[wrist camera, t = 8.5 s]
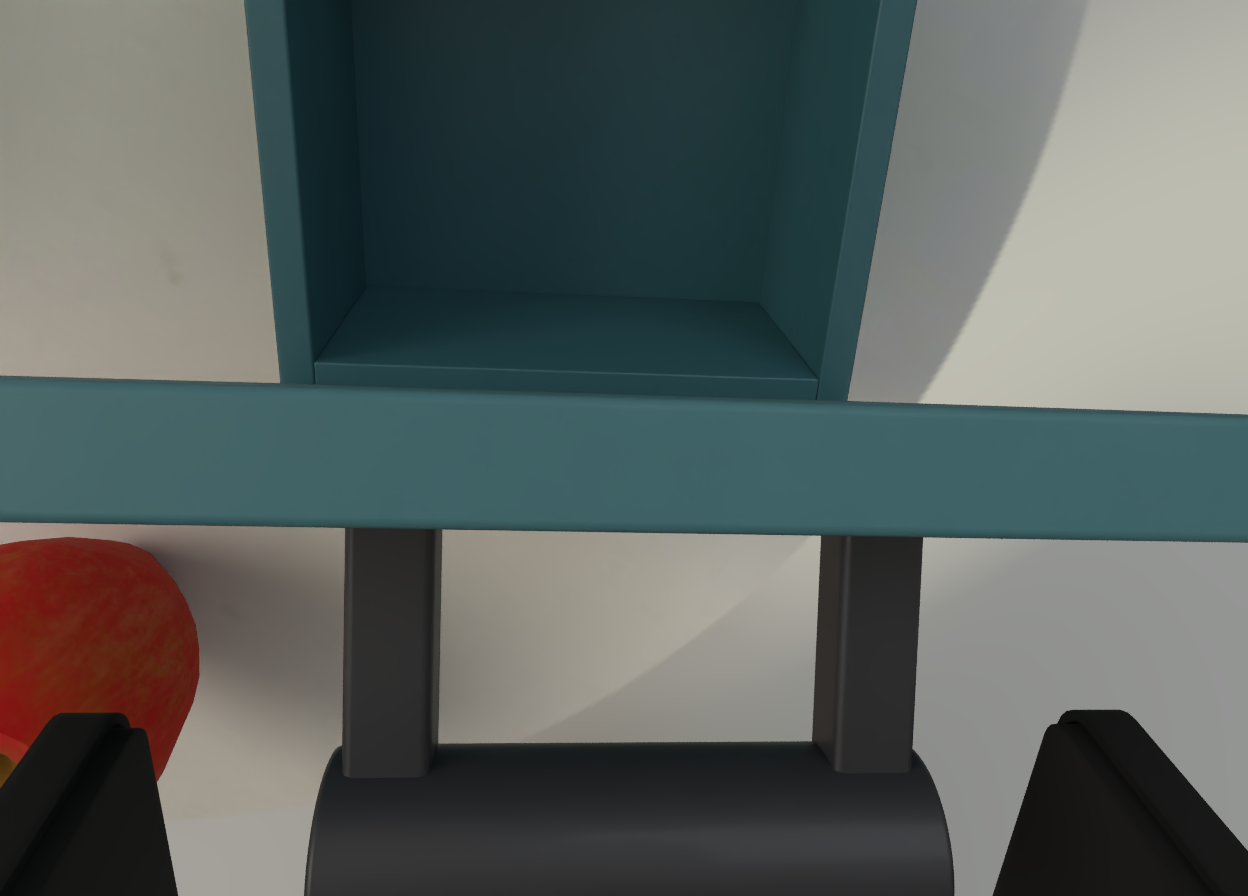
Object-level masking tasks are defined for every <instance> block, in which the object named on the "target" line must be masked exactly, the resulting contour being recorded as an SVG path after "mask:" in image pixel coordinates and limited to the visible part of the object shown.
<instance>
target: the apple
mask: <svg viewBox="0 0 1248 896" xmlns="http://www.w3.org/2000/svg"><path fill="white" fill-rule="evenodd" d="M198 679H199V645H198V638H197V631H196V625H195V622H194V620H193V617H192V615H191V612H190V610H189V607H188V604H187V602H186V600H185V598H184V596H183V595H182V593H181V591H180V589H179V588H178V586H177V584H176V583H175V581H174V580H173V579H172V578H171V576H170V575H169V574H168V573H167V571H166V570H165V569H164V568H163V567H162V566H161V565H160V564H159V563H158V562H157V560H156V559H155V558H154V557H153V556H152V555H151V554H150V553H149V552H146V551H144V550H142V549H140V548H138V547H135V546H133V545H131V544H128V543H122V542H117V541H111V540H100V539H88V538H75V537H65V538H52V539H40V540H28V541H20V542H13V543H8V544H2V545H0V788H1V787H2V785H3V784H4V783H5V781H6V780H7V778H8V777H9V776H10V774H11V773H12V771H13V770H14V769H15V767H16V766H17V764H18V763H19V762H20V760H21V759H22V757H23V756H24V755H25V753H26V752H27V750H28V749H29V748H30V746H31V745H32V743H33V742H34V741H35V739H36V738H37V736H38V735H39V733H40V732H41V731H42V729H43V728H44V726H45V725H46V724H47V723H48V722H49V720H50V719H51V718H52V717H53V716H55V715H57V714H59V713H110V712H118V713H123V714H125V716H126V717H127V718H128V720H129V723H130V726H131V728H143V729H144V730H145V731H146V733H147V736H148V740H149V745H150V750H151V756H152V761H153V766H154V771H155V777H156V782H157V781H158V780H159V778H160V776H161V775H162V773H163V771H164V769H165V767H166V764H167V762H168V760H169V757H170V755H171V753H172V750H173V748H174V746H175V743H176V741H177V739H178V736H179V734H180V732H181V729H182V727H183V725H184V722H185V720H186V718H187V716H188V713H189V711H190V709H191V706H192V704H193V701H194V697H195V692H196V688H197V684H198Z"/></svg>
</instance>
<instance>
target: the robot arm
mask: <svg viewBox="0 0 1248 896" xmlns="http://www.w3.org/2000/svg"><path fill="white" fill-rule="evenodd" d="M0 896H178V893H177V887H176V882H175V877H174V872H173V866H172V861H171V856H170V850H169V845H168V840H167V835H166V829H165V824H164V819H163V814H162V808H161V803H160V798H159V792H158V787H157V782H156V777H155V771H154V766H153V761H152V756H151V750H150V745H149V740H148V736H147V733H146V731H145V730H144V729H143V728H131V726H130V723H129V720H128V718H127V717H126V716H125V714H123V713H118V712H110V713H59V714H57V715H55V716H53V717H52V718H51V719H50V720H49V722H48V723H47V724H46V725H45V726H44V728H43V729H42V731H41V732H40V733H39V735H38V736H37V738H36V739H35V741H34V742H33V743H32V745H31V746H30V748H29V749H28V750H27V752H26V753H25V755H24V756H23V757H22V759H21V760H20V762H19V763H18V764H17V766H16V767H15V769H14V770H13V771H12V773H11V774H10V776H9V777H8V778H7V780H6V781H5V783H4V784H3V785H2V787H1V788H0ZM993 896H1248V851H1247V850H1246V848H1245V847H1244V846H1243V845H1242V844H1241V843H1240V841H1239V840H1238V839H1237V838H1236V837H1235V835H1234V834H1233V833H1232V832H1231V831H1230V830H1229V828H1228V827H1227V826H1226V825H1225V824H1224V823H1223V821H1222V820H1221V819H1220V818H1219V817H1218V815H1216V813H1215V812H1214V811H1213V810H1212V808H1211V807H1210V806H1209V805H1208V804H1207V803H1206V801H1204V799H1203V798H1202V797H1201V796H1200V795H1199V793H1198V792H1197V791H1196V790H1195V789H1194V788H1193V786H1192V785H1191V784H1190V783H1189V782H1188V780H1187V779H1186V778H1185V777H1184V776H1183V775H1182V773H1181V772H1180V771H1179V770H1178V769H1177V768H1176V767H1175V765H1174V764H1173V763H1172V762H1171V761H1170V759H1169V758H1168V757H1167V756H1166V755H1165V753H1164V752H1163V751H1162V750H1161V749H1160V748H1159V747H1158V745H1157V744H1156V743H1155V742H1154V741H1153V739H1152V738H1151V737H1150V736H1149V735H1148V734H1147V732H1146V731H1145V730H1144V729H1143V728H1142V727H1141V725H1140V724H1139V723H1138V722H1137V721H1136V720H1135V719H1134V718H1133V717H1132V716H1131V715H1130V714H1129V713H1127V712H1125V711H1122V710H1070V711H1066V712H1065V713H1064V714H1063V715H1062V716H1061V717H1060V719H1059V721H1058V723H1057V724H1052V725H1050V726H1049V727H1048V728H1047V730H1046V732H1045V734H1044V737H1043V740H1042V743H1041V746H1040V749H1039V752H1038V755H1037V759H1036V762H1035V765H1034V768H1033V771H1032V774H1031V777H1030V780H1029V783H1028V787H1027V790H1026V793H1025V796H1024V799H1023V802H1022V805H1021V809H1020V812H1019V815H1018V818H1017V821H1016V824H1015V827H1014V831H1013V833H1012V837H1011V840H1010V843H1009V846H1008V849H1007V853H1006V855H1005V859H1004V862H1003V865H1002V868H1001V871H1000V874H999V877H998V880H997V884H996V887H995V890H994V893H993Z"/></svg>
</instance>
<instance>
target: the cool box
mask: <svg viewBox="0 0 1248 896" xmlns="http://www.w3.org/2000/svg"><path fill="white" fill-rule="evenodd" d="M244 4H245V15H246V25H247V36H248V47H249V57H250V68H251V78H252V89H253V99H254V110H255V120H256V131H257V141H258V152H259V162H260V173H261V183H262V194H263V204H264V215H265V225H266V236H267V246H268V257H269V267H270V278H271V288H272V299H273V309H274V320H275V330H276V341H277V351H278V362H279V372H280V383H282V384H314V385H346V386H378V387H410V388H443V389H475V390H507V391H539V392H571V393H603V394H635V395H667V396H699V397H731V398H764V399H796V400H828V401H847V399H848V393H849V387H850V381H851V376H852V370H853V364H854V359H855V353H856V347H857V341H858V336H859V330H860V324H861V319H862V313H863V307H864V301H865V296H866V290H867V284H868V278H869V273H870V267H871V261H872V256H873V250H874V244H875V238H876V233H877V227H878V221H879V216H880V210H881V204H882V198H883V193H884V187H885V181H886V175H887V170H888V164H889V158H890V153H891V147H892V141H893V135H894V130H895V124H896V118H897V113H898V107H899V101H900V95H901V90H902V84H903V78H904V72H905V67H906V61H907V55H908V50H909V44H910V38H911V32H912V27H913V21H914V15H915V10H916V4H917V0H244Z"/></svg>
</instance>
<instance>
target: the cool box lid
mask: <svg viewBox="0 0 1248 896" xmlns="http://www.w3.org/2000/svg"><path fill="white" fill-rule="evenodd" d="M0 522H23V523H84V524H145V525H206V526H267V527H328V528H345V583H344V658H343V733H342V746H340V747H338V748H337V749H335V751H334V752H333V754H332V756H331V758H330V760H329V762H328V764H327V767H326V769H325V772H324V775H323V778H322V781H321V785H320V789H319V792H318V796H317V801H316V805H315V811H314V816H313V821H312V827H311V833H310V840H309V848H308V855H307V865H306V876H305V889H304V896H954V870H953V858H952V851H951V843H950V838H949V833H948V828H947V823H946V819H945V814H944V811H943V807H942V804H941V801H940V797H939V795H938V792H937V789H936V786H935V784H934V782H933V779H932V777H931V775H930V773H929V771H928V769H927V767H926V766H925V764H924V762H923V761H922V760H921V758H920V757H919V755H918V754H917V753H916V752H915V751H914V750H913V749H912V745H913V724H914V706H915V686H916V666H917V665H916V664H917V646H918V627H919V607H920V588H921V568H922V567H921V566H922V547H923V537H940V538H942V537H943V538H1000V539H1003V538H1004V539H1061V540H1064V539H1065V540H1125V541H1183V542H1187V541H1188V542H1245V543H1248V415H1242V414H1212V413H1183V412H1182V413H1181V412H1154V411H1124V410H1095V409H1064V408H1036V407H1006V406H977V405H947V404H918V403H889V402H859V401H828V400H796V399H764V398H731V397H699V396H667V395H635V394H603V393H571V392H539V391H507V390H475V389H443V388H410V387H378V386H346V385H314V384H282V383H246V382H210V381H174V380H138V379H102V378H66V377H30V376H0ZM442 529H450V530H511V531H572V532H633V533H695V534H756V535H820V536H821V552H820V553H821V554H820V574H819V575H820V576H819V598H818V620H817V642H816V666H815V688H814V710H813V734H812V741H811V742H810V741H809V742H808V741H804V742H802V741H801V742H647V743H646V742H642V743H641V742H638V743H637V742H636V743H472V744H438V723H439V672H440V621H441V570H442Z"/></svg>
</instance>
